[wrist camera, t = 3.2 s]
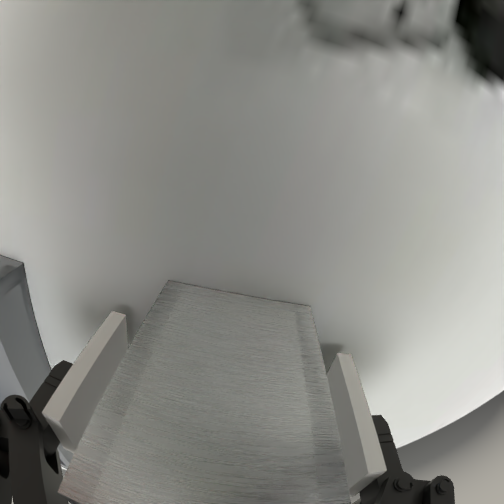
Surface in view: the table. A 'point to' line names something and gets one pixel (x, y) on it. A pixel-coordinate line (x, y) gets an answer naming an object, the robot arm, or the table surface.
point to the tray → (20, 341)
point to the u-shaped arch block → (214, 410)
